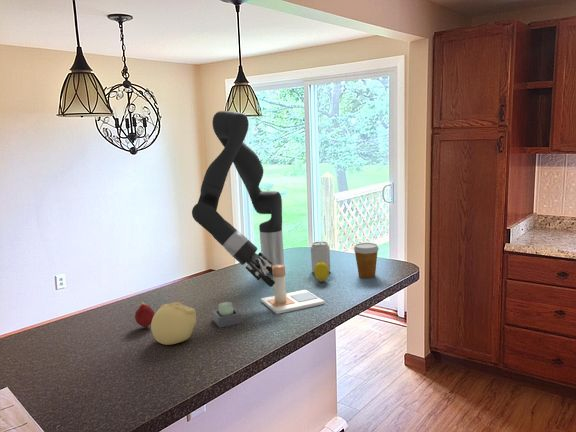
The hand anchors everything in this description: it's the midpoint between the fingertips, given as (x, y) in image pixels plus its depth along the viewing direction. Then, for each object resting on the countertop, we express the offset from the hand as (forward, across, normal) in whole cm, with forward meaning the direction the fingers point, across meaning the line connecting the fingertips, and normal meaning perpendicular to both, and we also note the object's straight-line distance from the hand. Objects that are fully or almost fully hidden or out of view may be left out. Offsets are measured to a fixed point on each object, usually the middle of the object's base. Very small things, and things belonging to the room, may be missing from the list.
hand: (276, 280), depth 161 cm
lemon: (+14, +25, -2) cm, 29 cm away
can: (+13, +38, -1) cm, 40 cm away
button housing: (-3, -15, +15) cm, 21 cm away
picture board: (+9, +2, +3) cm, 10 cm away
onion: (-20, -21, +32) cm, 43 cm away
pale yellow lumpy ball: (-11, -29, +23) cm, 38 cm away
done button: (-4, -15, +14) cm, 21 cm away
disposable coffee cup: (+26, +33, -14) cm, 44 cm away
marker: (+6, 0, +4) cm, 7 cm away
